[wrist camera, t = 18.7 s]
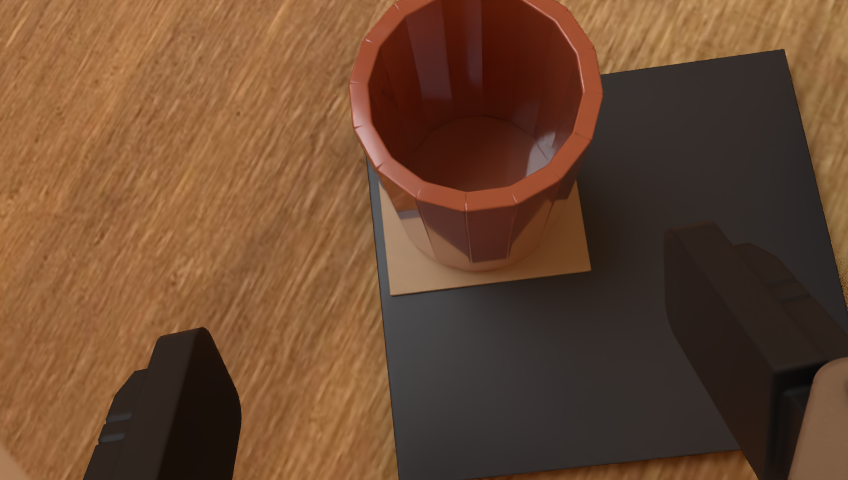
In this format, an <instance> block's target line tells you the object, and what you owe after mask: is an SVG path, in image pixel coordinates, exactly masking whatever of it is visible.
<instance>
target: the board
mask: <svg viewBox="0 0 848 480" xmlns="http://www.w3.org/2000/svg"><path fill="white" fill-rule="evenodd" d="M600 77H601V83H602V88H603V99H602V103H601V107H600V111H599V115H598V119H597V123H596V127H595V131H594V135H593V139H592V141H591V144H590V146H589V149H588V151H587V154H586V156H585V158H584V161H583V163H582V166H581V168H580V171H579V173H578V176H577V178H576V180H575V183H574V185H573V188H572V190H571V193H570V195H569V197H568V200H567V202H566V205H565V207H564V210H563V212H562V215H561V217H560V219H559V221H558V223H557V225H556V226H555V227H554V229H553V231H552V232H551V234H550V235H549V237H548V238H547V239H546V241H545V242H544V243H543V244H542V245H541V246H540V247H539V248H538V249H537V250H536V251H535V252H533V253H532V254H531V255H530V256H528V257H527V258H525V259H524V260H522V261H520V262H518V263H516V264H514V265H512V266H509V267H506V268H503V269H500V270H495V271H490V272H466V271H461V270H456V269H453V268H450V267H447V266H444V265H442V264H440V263H438V262H436V261H434V260H433V259H431V258H430V257H428V256H427V255H425V254H424V253H423V252H422V251H421V250H420V249H418V248H417V247H416V245H415V244H414V243H412V241H411V240H410V239H409V237H408V236H407V234H406V232H405V231H404V229H403V227H402V225H401V223H400V221H399V220H398V218H397V216H396V214H395V213H394V211H393V209H392V207H391V205H390V203H389V201H388V199H387V196H386V194H385V192H384V190H383V188H382V186H381V184H380V182H379V180H378V178H377V176H376V174H375V172H374V170H373V168H372V166H371V164H370V162H369V160H368V158H367V156H366V160H367V170H368V180H369V190H370V200H371V209H372V219H373V229H374V239H375V249H376V259H377V269H378V279H379V288H380V298H381V308H382V318H383V328H384V338H385V348H386V358H387V368H388V377H389V387H390V397H391V407H392V417H393V427H394V437H395V447H396V456H397V466H398V476H399V480H471V479H481V478H490V477H499V476H508V475H517V474H526V473H535V472H544V471H553V470H562V469H571V468H580V467H590V466H599V465H608V464H617V463H626V462H635V461H644V460H653V459H662V458H671V457H680V456H689V455H699V454H708V453H717V452H726V451H735V450H741V448H740V447H739V445H738V443H737V442H736V440H735V438H734V437H733V435H732V433H731V431H730V430H729V428H728V426H727V425H726V423H725V421H724V420H723V418H722V416H721V414H720V413H719V411H718V409H717V408H716V406H715V404H714V402H713V401H712V399H711V397H710V396H709V394H708V392H707V391H706V389H705V387H704V385H703V384H702V382H701V380H700V379H699V377H698V375H697V374H696V372H695V370H694V368H693V367H692V365H691V363H690V362H689V360H688V358H687V357H686V355H685V353H684V351H683V350H682V348H681V346H680V345H679V343H678V341H677V339H676V338H675V336H674V334H673V332H672V329H671V327H670V324H669V321H668V317H667V313H666V308H665V293H664V246H663V239H664V233H665V231H666V230H667V229H672V228H677V227H682V226H686V225H691V224H696V223H700V222H705V221H713V222H714V223H715V224H716V225H717V226H718V227H719V228H720V230H721V231H722V232H723V233H724V234H725V236H726V237H727V238H728V239H729V240H730V242H731V243H732V244H733V245H734V246H735V245H740V244H745V243H749V242H750V243H752V244H754V245H756V246H758V247H760V248H761V249H763V250H765V251H767V252H769V253H771V254H773V255H775V256H777V257H778V258H779V259H780V260H781V261H782V262H783V263H784V265H785V266H786V267H787V268H788V269H789V270H790V271H791V272H792V273H793V275H794V276H795V278H796V281H800V282H801V283H802V285H803V286H804V287H805V288H806V289H807V290H808V291H809V292H810V296H811V298H812V297H814V298H815V299H816V300H817V301H818V302H819V303H820V305H821V306H822V307H823V308H824V309H825V310H826V311H827V312H828V313H829V315H830V316H831V317H832V318H833V319H834V320H835V321H836V322H837V323H838V324H839V326H840V327H841V328H842V329H843V330H844V331H845V332H846V333H847V334H848V311H847V307H846V303H845V299H844V295H843V290H842V286H841V282H840V278H839V274H838V270H837V266H836V262H835V257H834V253H833V249H832V245H831V241H830V237H829V233H828V228H827V224H826V220H825V216H824V212H823V208H822V204H821V200H820V195H819V191H818V187H817V183H816V179H815V175H814V171H813V166H812V162H811V158H810V154H809V150H808V146H807V142H806V137H805V133H804V129H803V125H802V121H801V117H800V113H799V109H798V104H797V100H796V96H795V92H794V88H793V84H792V80H791V75H790V71H789V67H788V63H787V59H786V55H785V51H784V49H780V50H773V51H766V52H759V53H752V54H745V55H738V56H731V57H723V58H716V59H709V60H702V61H695V62H688V63H681V64H674V65H667V66H659V67H652V68H645V69H638V70H631V71H624V72H617V73H610V74H603V75H600Z"/></svg>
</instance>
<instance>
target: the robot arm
mask: <svg viewBox="0 0 848 480" xmlns="http://www.w3.org/2000/svg"><path fill="white" fill-rule="evenodd" d="M663 246H664V293H665V308H666V313H667V317H668V321H669V324H670V327H671V329H672V332H673V334H674V336H675V338H676V339H677V341H678V343H679V345H680V346H681V348H682V350H683V351H684V353H685V355H686V357H687V358H688V360H689V362H690V363H691V365H692V367H693V368H694V370H695V372H696V374H697V375H698V377H699V379H700V380H701V382H702V384H703V385H704V387H705V389H706V391H707V392H708V394H709V396H710V397H711V399H712V401H713V402H714V404H715V406H716V408H717V409H718V411H719V413H720V414H721V416H722V418H723V420H724V421H725V423H726V425H727V426H728V428H729V430H730V431H731V433H732V435H733V437H734V438H735V440H736V442H737V443H738V445H739V447H740V448H741V450H742V452H743V454H744V455H745V457H746V459H747V460H748V462H749V464H750V465H751V467H752V469H753V471H754V472H755V474H756V476H757V477H758V479H759V480H848V334H847V333H846V332H845V331H844V330H843V329H842V328H841V327H840V326H839V324H838V323H837V322H836V321H835V320H834V319H833V318H832V317H831V316H830V315H829V313H828V312H827V311H826V310H825V309H824V308H823V307H822V306H821V305H820V303H819V302H818V301H817V300H816V299H815V298H814V297H812V298H811V296H810V292H809V291H808V290H807V289H806V288H805V287H804V286H803V285H802V283H801V282H800V281H796V278H795V276H794V275H793V273H792V272H791V271H790V270H789V269H788V268H787V267H786V266H785V265H784V263H783V262H782V261H781V260H780V259H779V258H778V257H777V256H775V255H773V254H771V253H769V252H767V251H765V250H763V249H761V248H760V247H758V246H756V245H754V244H752V243H750V242H749V243H745V244H740V245H735V246H734V245H733V244H732V243H731V242H730V240H729V239H728V238H727V237H726V236H725V234H724V233H723V232H722V231H721V230H720V228H719V227H718V226H717V225H716V224H715V223H714V222H713V221H705V222H700V223H696V224H691V225H686V226H682V227H677V228H672V229H667V230H666V231H665V233H664V239H663ZM241 419H242V418H241V406H240V400H239V396H238V393H237V390H236V388H235V386H234V383H233V381H232V379H231V377H230V375H229V373H228V371H227V368H226V366H225V364H224V362H223V360H222V358H221V356H220V353H219V351H218V349H217V347H216V345H215V343H214V341H213V338H212V336H211V334H210V333H209V331H208V330H207V329H206V328H204V327H201V328H196V329H192V330H187V331H182V332H178V333H173V334H168V335H164V336H160V337H159V338H158V340H157V342H156V345H155V348H154V350H153V353H152V356H151V359H150V362H149V365H148V368H147V369H143V370H138V371H135V372H134V373H133V374H132V375H131V376H130V378H129V379H128V380H127V381H126V382H125V384H124V385H123V386H122V387H121V389H120V390H119V391H118V392H117V393H116V395H115V397H114V399H113V402H112V404H111V407H110V410H109V412H108V415H107V418H106V424H105V425H103V428H102V431H101V433H100V436H99V439H98V441H99V445H96V447H95V449H94V452H93V454H92V457H91V460H90V462H89V465H88V468H87V470H86V473H85V475H84V478H83V480H232V477H233V471H234V465H235V459H236V453H237V447H238V441H239V435H240V429H241Z"/></svg>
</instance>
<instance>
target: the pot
mask: <svg viewBox="0 0 848 480" xmlns="http://www.w3.org/2000/svg"><path fill="white" fill-rule="evenodd" d="M349 94H350V104H351V114H352V125H353V129H354V132H355V134H356V136H357V138H358V140H359V142H360V144H361V146H362V148H363V150H364V152H365V154H366V156H367V158H368V160H369V162H370V164H371V166H372V168H373V170H374V172H375V174H376V176H377V178H378V180H379V182H380V184H381V186H382V188H383V190H384V192H385V194H386V196H387V199H388V201H389V203H390V205H391V207H392V209H393V211H394V213H395V214H396V216H397V218H398V220H399V221H400V223H401V225H402V227H403V229H404V231H405V232H406V234H407V236H408V237H409V239H410V240H411V241H412V243H414V244H415V245H416V247H417V248H418V249H420V250H421V251H422V252H423V253H424V254H425V255H427V256H428V257H430V258H431V259H433V260H434V261H436V262H438V263H440V264H442V265H444V266H447V267H450V268H453V269H456V270H461V271H466V272H490V271H495V270H500V269H503V268H506V267H509V266H512V265H514V264H516V263H518V262H520V261H522V260H524V259H525V258H527V257H528V256H530V255H531V254H532V253H533V252H535V251H536V250H537V249H538V248H539V247H540V246H541V245H542V244H543V243H544V242H545V241H546V239H547V238H548V237H549V235H550V234H551V232H552V231H553V229H554V227H555V226H556V225H557V223H558V221H559V219H560V217H561V215H562V212H563V210H564V207H565V205H566V202H567V200H568V197H569V195H570V193H571V190H572V188H573V185H574V183H575V180H576V178H577V176H578V173H579V171H580V168H581V166H582V163H583V161H584V158H585V156H586V154H587V151H588V149H589V146H590V144H591V141H592V139H593V135H594V131H595V127H596V123H597V119H598V115H599V111H600V107H601V103H602V99H603V88H602V83H601V77H600V72H599V66H598V60H597V55H596V50H595V49H594V46H593V44H592V43H591V41H590V40H589V38H588V37H587V36H586V34H585V33H584V31H583V30H582V28H581V27H580V25H579V24H578V22H577V21H576V19H575V18H574V16H573V15H572V13H571V12H570V11H568V9H567V8H566V7H564V6H563V5H561V4H560V3H558V2H557V1H555V0H399V1H397V2H395V3H394V5H392V6H391V7H390V8H389V9H388V11H387V12H386V13H385V14H384V15H383V16H382V18H381V19H380V20H379V21H378V22H377V23H376V25H375V26H374V27H373V28H372V29H371V31H370V32H369V33H368V34H367V35H366V36H365V38H364V40H363V41H362V43H361V47H360V50H359V53H358V56H357V59H356V62H355V65H354V68H353V71H352V74H351V77H350V80H349Z"/></svg>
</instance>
